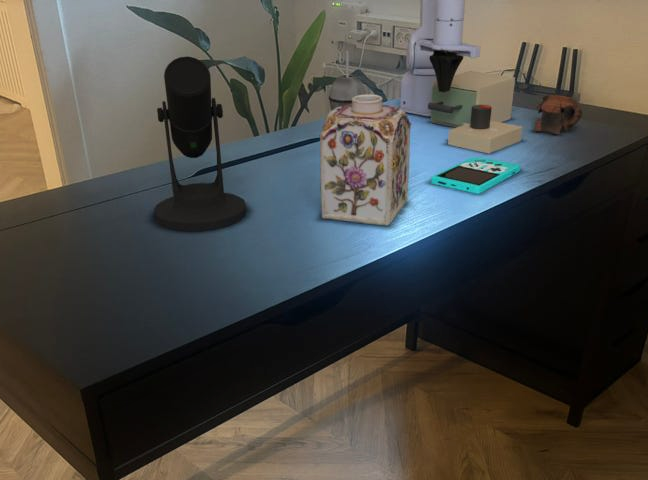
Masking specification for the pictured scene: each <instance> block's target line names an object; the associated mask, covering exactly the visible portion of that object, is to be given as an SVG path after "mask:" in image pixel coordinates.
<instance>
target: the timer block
mask: <svg viewBox="0 0 648 480" xmlns="http://www.w3.org/2000/svg"><path fill="white" fill-rule="evenodd" d="M463 124H466V125H463V126H460V127H453V128H451V129H448V138H447V139H448V140H447V145H448V146H452V147H457V148H462V149H467V150H470V151H476V152H478V153H479V152H480V153H484V154H487V155H488V154H492V153H494V152H497V151H499V150H502V149H505V148H507V147H509V146H512V145H514V144H517V143H519V142H522V135H523V126H521V125H515V124H510V123H505V122H495V121H490V127H489V128H488V129H474V128H471V127H470V123H468V124H467V123H463Z"/></svg>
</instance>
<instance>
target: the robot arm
mask: <svg viewBox="0 0 648 480" xmlns="http://www.w3.org/2000/svg"><path fill="white" fill-rule="evenodd" d="M419 2H420V4H419V8H420V9H419V27H418V28H416V29H415V30H413V31H412V32H411V33H410V34H409V36H408V38H407V46H406V52H405V53H406V55H405V56H406V57H405V58H406V59H405V61H406V62H405V63H406V69H407V70H408V71H406V72H405V73H404V74H403V76H402V78H401V83H400V101H399V102H400V103H399V109H401V110H402V111H404V112H405V113H408V114H413V115H417V116H423V117H431V110H430V109H428V104H429V103H432V88H433V86H434V80H437V83H438V89H439V92H447V91H450V87H451V84H452V80H453V78H454V75H456V72H457V70H458V68H459V66H460V64H461V63H462V61H463V60H464V57H469V58H470V59H476V58H480V56H481V46H480V45H474V44H469V43H464V42H463V32H464V21H465V20H464V19H465V7H466V0H420V1H419Z"/></svg>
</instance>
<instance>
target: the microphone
mask: <svg viewBox="0 0 648 480" xmlns="http://www.w3.org/2000/svg"><path fill="white" fill-rule="evenodd" d="M165 67H166V68H165V70H164V73H163V79H164V80H163V81H164V87H165V88H164V89H165V95H166V101H165V100H163V101H162V103H161V104H162V107H157V108H156V112H157V121H158V122H159V123H164V129H165V130H164V131H165V137H166V146H167V153H168V164H169V170H170V171H169V172H170V180H171V186H172V187H171V188H172V195H173V196H170V197H167V198H165V199H164V200H161V201H160V202H158V203H157V204H156V205H155V207H154V210H153V211H154V212H153V213H154V218H155V222H156V223H157V224H158V225H160V226H161V227H164V228H166V229H170V230H175V231H180V232H182V231H183V232H205V231H210V230H217V229H222V228H225V227H229V226H231V225H234V224H236V223H239V222H240V221H241V220H242V219H244V218H245V216H246V214H247V204H246V201H245V199H243V198H242V197H240V196H239V195H236V194H233V193H228V192H225V189H224V178H223V168H222V167H223V166H222V156H221V142H220V133H219V119H222V118H223V117H224V111H223V105H222V104H221V103H217V101H216V97H212V83H211V82H212V79H211V78H212V77H211V72H210V69H209V67H208V66H207V64H205V63H204V62H203V61H202V60H200V59H198V58H197V57H192V56H180V57H176V58H174V59H172V61H170V62H169V63H168V64H167V66H165ZM213 132H214V139H215V140H214V141H215V149H216V150H215V152H216V175H215V176H216V177H215V179H214V181H213V182H197V183H189V184H188V183H187V184H181V183H180V182H179V180H178V178H177V174H176V170H175V164H174V161H173V151H172V143H173V144H174V146H175V147H176V148H177V149H178V151H179V153H181V154H182V155H183V156H184V157H187V158H188V159H189V158H190V159H197V158H200V157H201V156H203V155H204V154H205V153H206V151H207V149H208V148H209V147H210V145H211V143H212V140H213ZM171 140H172V143H171Z"/></svg>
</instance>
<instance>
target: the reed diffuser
mask: <svg viewBox="0 0 648 480" xmlns="http://www.w3.org/2000/svg"><path fill="white" fill-rule="evenodd" d="M349 52H350V51H349V50H346V51H345V74H343V75H341V76H339V77H337V78H336V79H335V80H334V81H333V83H332V84H331V86H330V88H329V96H328V100H329V107H330V111H332V110H333V109H335V108H337V107H341V106H344V105H350V104H352V98H353V97H355V96H358V95H366V94H367V91H366V88H365V85H364V84H363V82H362V81H361V79H360V78H358V77H357V76H355V75H352V74H350V64H349V63H350V62H349V61H350V56H349V55H350V53H349Z"/></svg>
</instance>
